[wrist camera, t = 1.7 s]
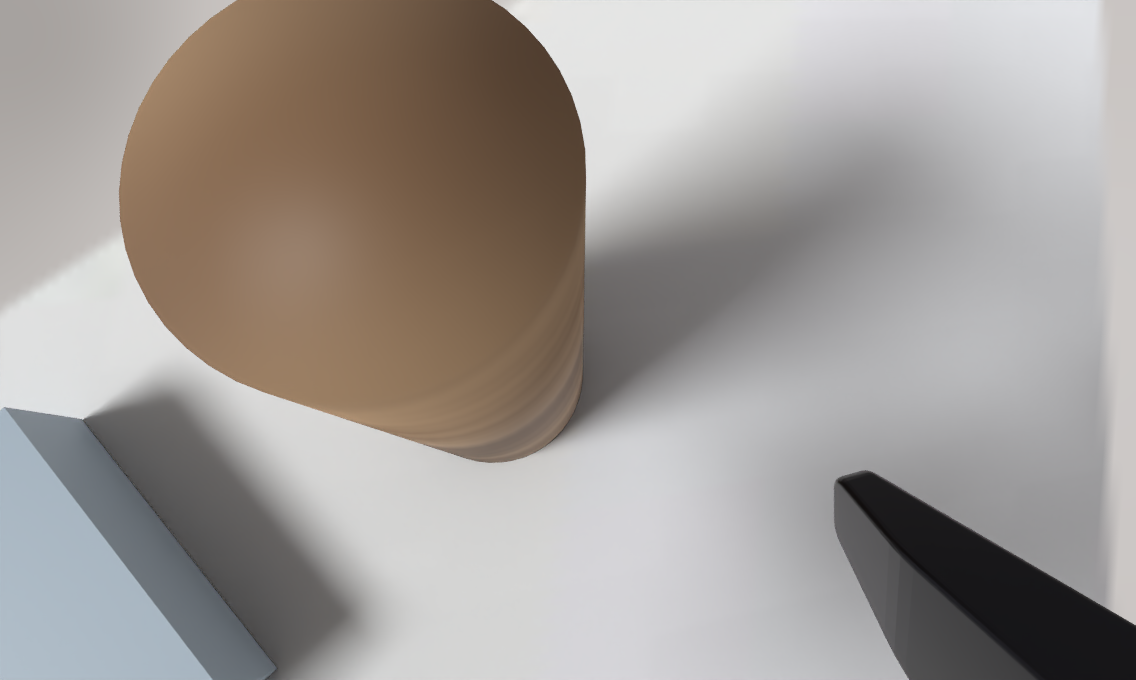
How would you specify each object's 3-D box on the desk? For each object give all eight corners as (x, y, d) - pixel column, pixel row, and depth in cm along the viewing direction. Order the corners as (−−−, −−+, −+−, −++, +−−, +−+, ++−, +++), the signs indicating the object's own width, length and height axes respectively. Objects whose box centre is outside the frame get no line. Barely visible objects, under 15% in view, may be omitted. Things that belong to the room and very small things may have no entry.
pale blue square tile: (277, 668, 20) (226, 697, 18) (-3, 925, 19) (-108, 1002, 16) (81, 419, 22) (3, 407, 19) (-190, 645, 21) (-318, 669, 18)
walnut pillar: (619, 379, 22) (683, 181, 8) (487, 500, 21) (316, 508, 8) (502, 255, 23) (381, -115, 9) (371, 369, 22) (27, 160, 8)
